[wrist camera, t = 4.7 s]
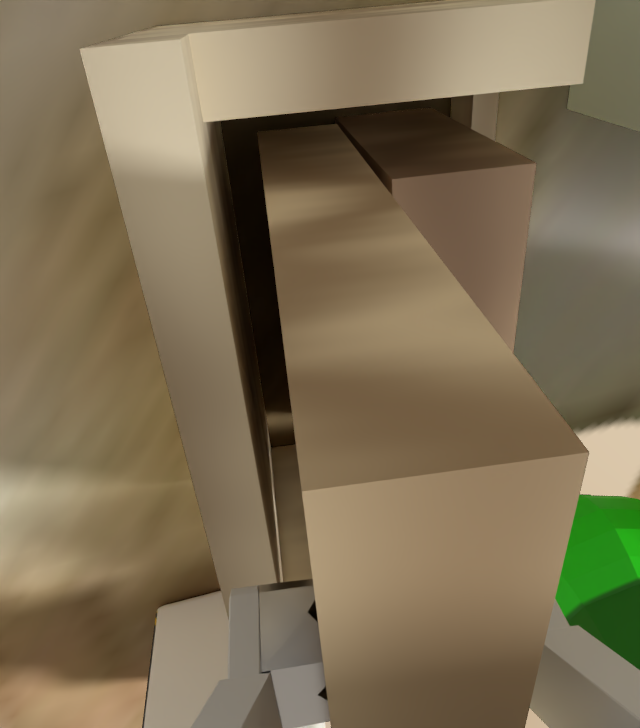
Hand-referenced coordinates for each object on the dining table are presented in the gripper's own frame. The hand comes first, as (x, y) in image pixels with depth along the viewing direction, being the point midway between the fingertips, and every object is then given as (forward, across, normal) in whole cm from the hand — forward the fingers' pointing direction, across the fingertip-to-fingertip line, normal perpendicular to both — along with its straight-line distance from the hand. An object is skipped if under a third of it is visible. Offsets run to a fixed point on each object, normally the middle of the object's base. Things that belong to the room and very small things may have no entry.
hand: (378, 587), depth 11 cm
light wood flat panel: (+12, 0, 0) cm, 12 cm away
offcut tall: (+14, -3, -3) cm, 14 cm away
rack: (+14, -1, 0) cm, 14 cm away
